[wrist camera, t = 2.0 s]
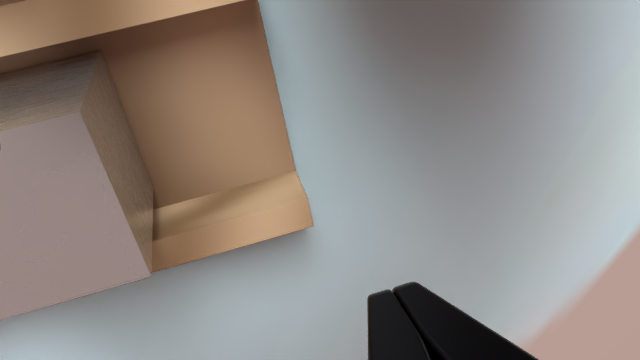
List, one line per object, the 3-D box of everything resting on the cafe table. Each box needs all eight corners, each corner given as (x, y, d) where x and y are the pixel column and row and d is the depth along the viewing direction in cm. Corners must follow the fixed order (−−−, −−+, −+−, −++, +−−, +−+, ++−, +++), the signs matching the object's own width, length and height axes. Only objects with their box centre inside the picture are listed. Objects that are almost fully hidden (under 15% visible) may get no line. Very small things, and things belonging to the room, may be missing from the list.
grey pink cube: (100, 49, 17) (79, 112, 13) (153, 187, 19) (151, 276, 15) (-72, 90, 16) (-154, 169, 12) (7, 226, 19) (-38, 330, 15)
